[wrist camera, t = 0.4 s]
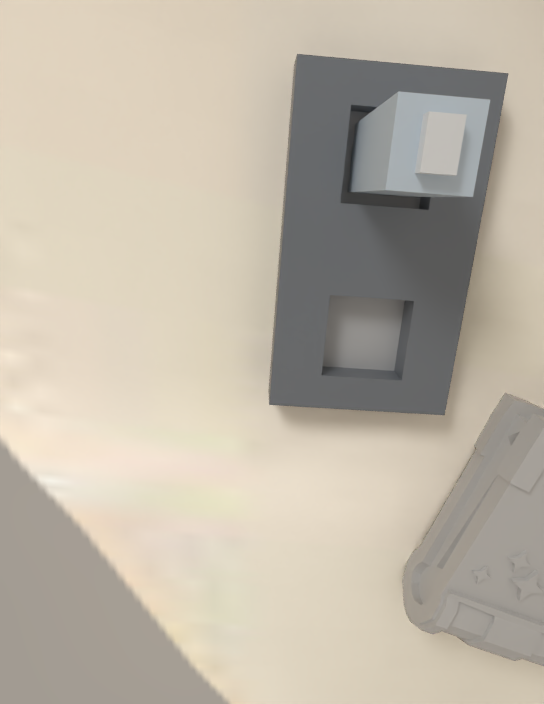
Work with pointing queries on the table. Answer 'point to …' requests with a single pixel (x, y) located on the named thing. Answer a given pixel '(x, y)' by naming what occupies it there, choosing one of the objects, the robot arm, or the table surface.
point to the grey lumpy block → (489, 544)
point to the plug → (419, 146)
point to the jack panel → (370, 250)
